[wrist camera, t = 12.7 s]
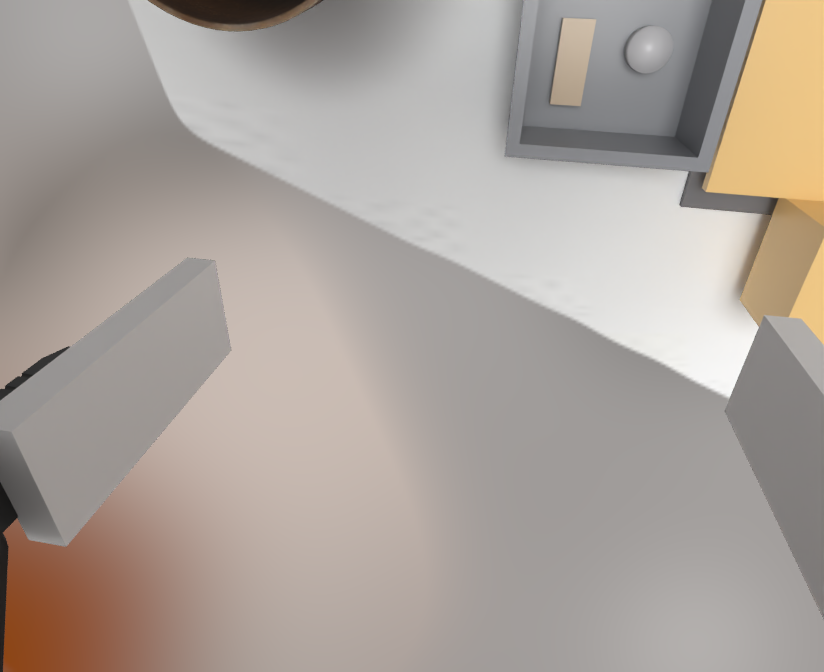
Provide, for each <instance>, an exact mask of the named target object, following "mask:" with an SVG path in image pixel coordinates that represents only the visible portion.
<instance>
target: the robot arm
mask: <svg viewBox="0 0 824 672" xmlns="http://www.w3.org/2000/svg"><path fill="white" fill-rule="evenodd" d="M230 351H231V346H230V340H229V335H228V330H227V324H226V318H225V312H224V307H223V301H222V296H221V290H220V285H219V279H218V274H217V268H216V263H215V261H214V260H206V259H196V258H186V259H185V260H184V261H182V262H181V263H180V264H179V265H177V266H176V267H175V268H173V269H172V270H171V271H169V272H168V273H167V274H165V275H164V276H163V277H161V278H160V279H159V280H158V281H156V282H155V283H154V284H152V285H151V286H150V287H148V288H147V289H146V290H145V291H143V292H142V293H141V294H139V295H138V296H137V297H135V298H134V299H133V300H131V301H130V302H129V303H128V304H126V305H125V306H123V307H122V308H121V309H120V310H118V311H117V312H116V313H115V314H113V315H112V316H110V317H109V318H108V319H107V320H105V321H104V322H103V323H101V324H100V325H99V326H97V327H96V328H95V329H93V330H92V331H91V332H90V333H88V334H87V335H85V336H84V337H83V338H82V339H80V340H79V341H78V342H76V343H75V344H74V345H72V346H71V347H66V348H64V349H62V350H59V351H57V352H55V353H53V354H51V355H49V356H46V357H44V358H42V359H41V360H39V361H38V362H37V363H35V364H34V365H33V366H31V367H30V368H28V370H26V371H24V372H23V373H22V376H21V377H17V378H15V379H14V380H13V381H11V382H10V383H8V384H7V385H6V386H5V389H0V672H3V655H4V632H5V631H4V630H5V611H6V588H7V586H6V585H7V566H8V545H7V541H6V538H5V536H4V534H3V532H4V531H5V530H6V529H7V528H8V526H10V525H11V524H12V523H13V522H14V520H15V519H16V518H18V520H19V522H20V524H21V526H22V528H23V530H24V532H25V533H26V535H27V537H28V539H29V540H33V541H39V542H44V543H50V544H55V545H60V546H67V545H68V544H69V543H70V542H71V540H72V539H73V538H74V537H75V536H76V534H77V533H78V532H79V531H80V530H81V528H82V527H83V526H84V525H85V524H86V523H87V521H88V520H89V519H90V518H91V517H92V515H93V514H94V513H95V512H96V511H97V509H98V508H99V507H100V506H101V505H102V503H103V502H104V501H105V500H106V499H107V498H108V496H109V495H110V494H111V493H112V492H113V490H114V489H115V488H116V487H117V485H118V484H119V483H120V482H121V481H122V480H123V479H124V477H125V476H126V475H127V474H128V473H129V471H130V470H131V469H132V468H133V467H134V465H135V464H136V463H137V462H138V461H139V459H140V458H141V457H142V456H143V455H144V454H145V452H146V451H147V450H148V449H149V447H150V446H151V445H152V444H153V443H154V442H155V440H156V439H157V438H158V437H159V436H160V434H161V433H162V432H163V431H164V430H165V429H166V427H167V426H168V425H169V424H170V423H171V421H172V420H173V419H174V418H175V417H176V415H177V414H178V413H179V412H180V411H181V409H182V408H183V407H184V406H185V405H186V403H187V402H188V401H189V400H190V399H191V398H192V396H193V395H194V394H195V393H196V392H197V390H198V389H199V388H200V387H201V386H202V385H203V383H204V382H205V381H206V380H207V379H208V377H209V376H210V375H211V374H212V373H213V371H214V370H215V369H216V368H217V367H218V365H219V364H220V363H221V362H222V361H223V360H224V358H225V357H226V356H227V355H228V354H229V352H230ZM725 413H726V415H727V417H728V419H729V422H730V423H731V426H732V428H733V430H734V432H735V434H736V436H737V438H738V440H739V443H740V445H741V447H742V449H743V451H744V453H745V455H746V457H747V459H748V461H749V464H750V466H751V468H752V470H753V472H754V474H755V476H756V478H757V480H758V483H759V485H760V487H761V488H762V491H763V493H764V495H765V497H766V499H767V501H768V504H769V506H770V507H771V510H772V512H773V514H774V516H775V518H776V520H777V522H778V524H779V526H780V529H781V531H782V533H783V535H784V537H785V539H786V541H787V543H788V546H789V547H790V550H791V552H792V554H793V556H794V558H795V560H796V562H797V564H798V567H799V569H800V571H801V573H802V575H803V577H804V579H805V581H806V583H807V586H808V588H809V590H810V592H811V594H812V596H813V598H814V600H815V602H816V604H817V607H818V608H819V611H820V613H821V615H822V617H823V619H824V345H823V344H822V342H821V341H820V340H819V339H818V338H817V337H816V335H815V334H814V333H813V332H812V331H811V330H810V328H809V327H808V326H807V325H806V324H805V323H804V321H803V320H802V319H799V318H789V317H779V316H769V315H764V317H763V319H762V321H761V324H760V326H759V329H758V331H757V334H756V336H755V338H754V341H753V343H752V346H751V348H750V350H749V353H748V355H747V358H746V360H745V362H744V365H743V367H742V370H741V372H740V375H739V377H738V379H737V382H736V384H735V387H734V389H733V391H732V394H731V396H730V399H729V401H728V404H727V406H726V408H725Z"/></svg>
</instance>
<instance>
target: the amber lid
mask: <svg viewBox="0 0 824 672" xmlns="http://www.w3.org/2000/svg"><path fill="white" fill-rule="evenodd" d="M702 188H703V190H704V191H705V192H713V193H725V194H737V195H749V196H762V197H774V198H779V199H778V201H777V204H776V207H775V209H774V212H773V214H772V217H771V220H770V222H769V225H768V227H767V230H766V233H765V235H764V238H763V240H762V243H761V245H760V248H759V251H758V253H757V256H756V258H755V261H754V264H753V266H752V269H751V271H750V274H749V277H748V279H747V282H746V284H745V287H744V290H743V292H742V295H741V297H740V301H741V302H742V304H743V305H744V307H745V308H746V309H747V311H748V312H749V314H750V315H751V316H752V318H753V319H754V321H755V322H756V323H757V325H758V326H760V324H761V321H762V319H763V317H764V315H769V316H779V317H789V318H799V319H802V320H803V321H804V323H805V324H806V325H807V326H808V327H809V328H810V330H811V331H812V332H813V333H814V334H815V335H816V337H817V338H818V339H819V340H820V341H821V342H822V344H823V345H824V0H762V3H761V6H760V9H759V13H758V16H757V19H756V22H755V25H754V29H753V32H752V35H751V38H750V41H749V45H748V48H747V51H746V54H745V57H744V61H743V64H742V67H741V70H740V73H739V76H738V80H737V83H736V86H735V89H734V92H733V96H732V99H731V102H730V105H729V108H728V112H727V115H726V118H725V121H724V124H723V128H722V131H721V134H720V137H719V140H718V144H717V147H716V150H715V153H714V156H713V160H712V163H711V166H710V169H709V172H708V173H706V176H705V179H704V183H703V186H702Z"/></svg>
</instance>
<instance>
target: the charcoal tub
mask: <svg viewBox="0 0 824 672" xmlns="http://www.w3.org/2000/svg"><path fill="white" fill-rule="evenodd" d="M761 3H762V0H524V2H523V10H522V18H521V27H520V35H519V43H518V51H517V60H516V68H515V76H514V84H513V93H512V101H511V109H510V118H509V126H508V134H507V142H506V151H505V156H506V157H519V158H531V159H544V160H556V161H569V162H581V163H594V164H606V165H619V166H631V167H644V168H656V169H669V170H681V171H694V172H706V173H708V172H709V169H710V166H711V163H712V160H713V156H714V153H715V150H716V147H717V144H718V140H719V137H720V134H721V131H722V128H723V124H724V121H725V118H726V115H727V112H728V108H729V105H730V102H731V99H732V96H733V92H734V89H735V86H736V83H737V80H738V76H739V73H740V70H741V67H742V64H743V61H744V57H745V54H746V51H747V48H748V45H749V41H750V38H751V35H752V32H753V29H754V25H755V22H756V19H757V16H758V13H759V9H760V6H761Z"/></svg>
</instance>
